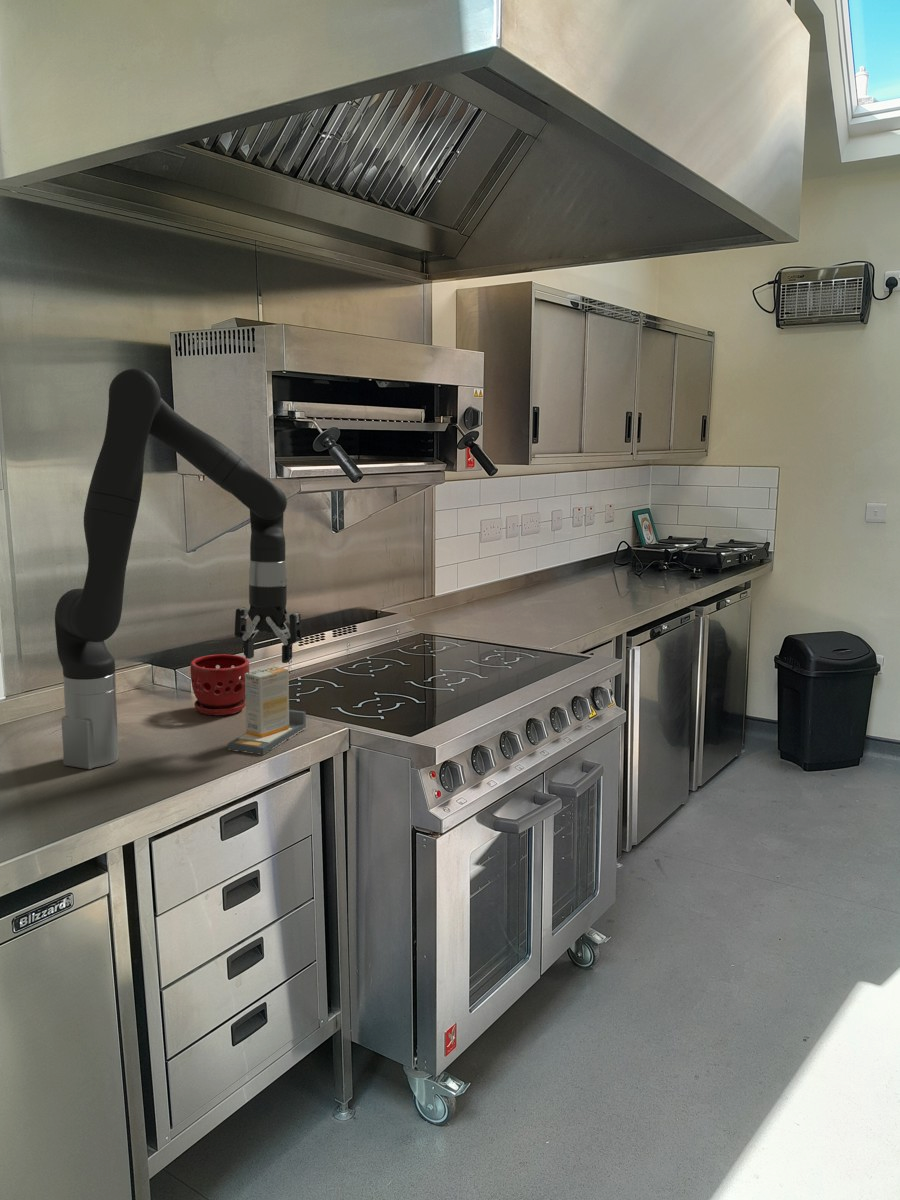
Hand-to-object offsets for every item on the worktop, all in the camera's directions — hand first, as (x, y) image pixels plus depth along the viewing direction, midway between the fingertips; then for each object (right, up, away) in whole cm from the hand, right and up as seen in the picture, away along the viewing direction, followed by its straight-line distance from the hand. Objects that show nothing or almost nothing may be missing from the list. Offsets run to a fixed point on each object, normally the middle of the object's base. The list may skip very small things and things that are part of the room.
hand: (267, 660), depth 185 cm
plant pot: (-15, -13, +23) cm, 31 cm away
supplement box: (-1, -15, +3) cm, 16 cm away
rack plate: (-1, -17, +3) cm, 17 cm away
